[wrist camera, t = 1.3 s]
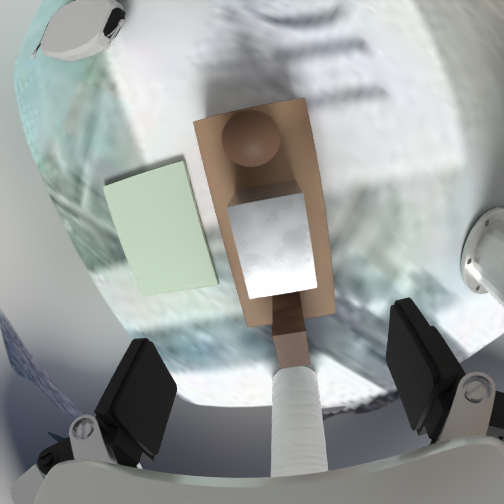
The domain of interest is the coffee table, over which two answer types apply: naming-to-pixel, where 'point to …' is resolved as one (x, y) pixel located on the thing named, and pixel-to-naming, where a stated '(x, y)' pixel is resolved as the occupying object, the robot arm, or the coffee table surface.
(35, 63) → the coffee table surface
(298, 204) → the grey rectangular block
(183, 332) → the coffee table surface
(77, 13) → the toy panda
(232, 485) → the robot arm
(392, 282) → the coffee table surface
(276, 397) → the water bottle
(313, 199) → the plane body
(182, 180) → the mat
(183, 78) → the coffee table surface
